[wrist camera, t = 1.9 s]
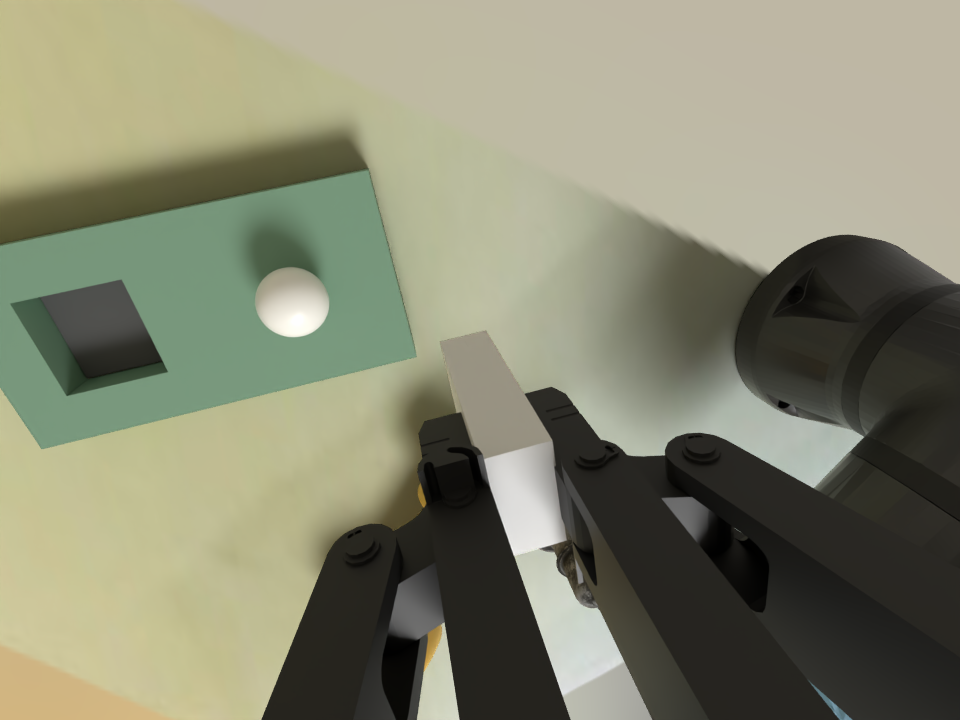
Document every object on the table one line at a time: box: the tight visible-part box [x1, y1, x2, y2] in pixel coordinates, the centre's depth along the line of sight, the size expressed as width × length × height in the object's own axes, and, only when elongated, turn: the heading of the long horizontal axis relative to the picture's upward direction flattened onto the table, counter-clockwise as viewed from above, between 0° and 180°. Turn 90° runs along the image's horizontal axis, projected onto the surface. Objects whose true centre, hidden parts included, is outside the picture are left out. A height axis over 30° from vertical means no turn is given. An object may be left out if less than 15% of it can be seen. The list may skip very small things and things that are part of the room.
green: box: [0, 168, 417, 449], centre depth 31 cm, size 24×12×2 cm, turn 101°
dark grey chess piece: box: [539, 524, 600, 610], centre depth 38 cm, size 6×6×12 cm
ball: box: [255, 267, 329, 337], centre depth 29 cm, size 4×4×4 cm
